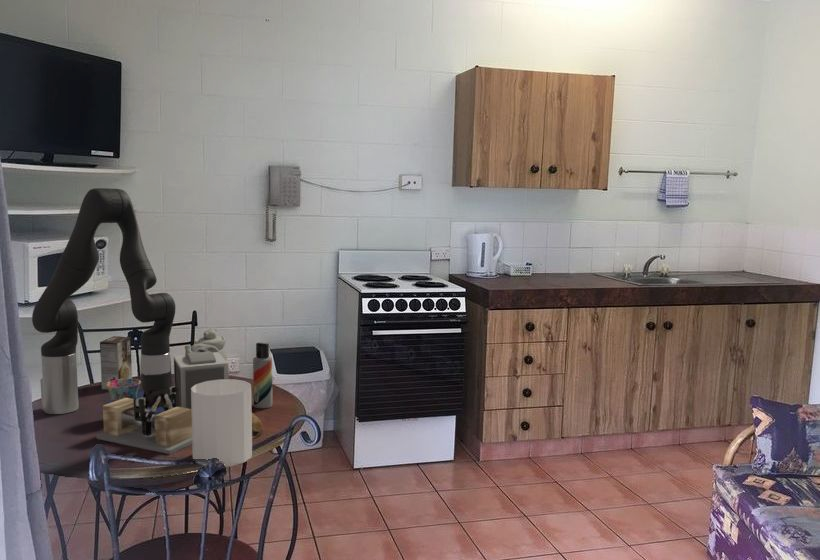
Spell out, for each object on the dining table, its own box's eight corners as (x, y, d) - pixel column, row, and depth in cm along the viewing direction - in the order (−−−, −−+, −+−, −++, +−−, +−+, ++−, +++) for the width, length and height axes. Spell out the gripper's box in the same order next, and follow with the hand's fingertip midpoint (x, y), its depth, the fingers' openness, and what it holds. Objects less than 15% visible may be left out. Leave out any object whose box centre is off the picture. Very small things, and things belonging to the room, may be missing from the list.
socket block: (155, 443, 179) (154, 415, 178) (177, 434, 186) (176, 406, 185) (170, 446, 177) (170, 418, 176) (192, 437, 184) (191, 409, 183)
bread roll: (237, 455, 185) (246, 431, 182) (213, 432, 189) (221, 408, 186) (264, 444, 193) (273, 421, 190) (240, 422, 197) (248, 399, 195)
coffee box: (115, 382, 238) (113, 335, 236) (133, 382, 238) (131, 336, 236) (100, 389, 229) (98, 341, 227) (119, 390, 229) (117, 342, 227)
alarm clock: (230, 419, 202) (229, 358, 199) (183, 426, 196) (181, 362, 194) (218, 402, 218) (217, 345, 216) (174, 407, 212) (172, 348, 210)
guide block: (103, 433, 186) (102, 405, 185) (126, 424, 193) (126, 397, 192) (117, 435, 184) (116, 408, 183) (140, 426, 191) (139, 400, 190)
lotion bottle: (249, 407, 213) (249, 343, 211) (260, 402, 219) (259, 339, 216) (265, 409, 211) (265, 345, 209) (276, 404, 216) (275, 341, 214)
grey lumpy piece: (188, 394, 226) (186, 337, 224) (174, 383, 238) (172, 329, 236) (236, 386, 236) (236, 331, 233) (220, 376, 248) (219, 324, 245)
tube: (118, 429, 186) (118, 410, 185) (134, 423, 191) (133, 404, 190) (165, 439, 179) (164, 419, 179) (179, 432, 184) (179, 413, 184)
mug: (130, 424, 196) (128, 388, 195) (100, 422, 198) (98, 385, 196) (153, 411, 208) (152, 377, 206) (124, 409, 209) (123, 375, 208)
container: (182, 465, 169) (180, 393, 166) (208, 444, 183) (207, 377, 180) (238, 470, 166) (237, 397, 164) (261, 448, 180) (260, 381, 178)
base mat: (96, 438, 185) (96, 435, 185) (131, 425, 196) (131, 421, 195) (169, 454, 175) (169, 450, 175) (202, 439, 186) (202, 435, 186)
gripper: (164, 362, 190) (166, 420, 192) (123, 374, 176) (126, 436, 179) (186, 365, 187) (187, 424, 189) (146, 377, 174) (148, 441, 176)
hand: (157, 430), depth 184 cm, fingers open, 7 cm apart
